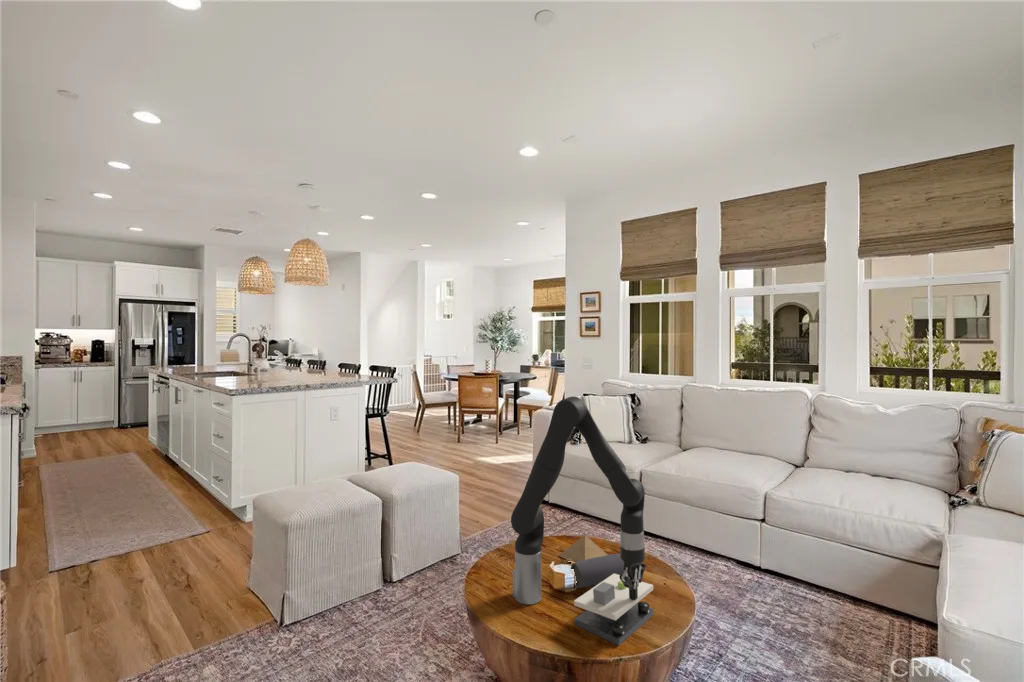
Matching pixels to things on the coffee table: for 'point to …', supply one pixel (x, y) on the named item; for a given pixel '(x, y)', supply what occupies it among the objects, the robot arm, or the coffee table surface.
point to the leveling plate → (614, 604)
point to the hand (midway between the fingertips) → (633, 598)
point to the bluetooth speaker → (597, 569)
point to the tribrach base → (606, 623)
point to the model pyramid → (582, 550)
